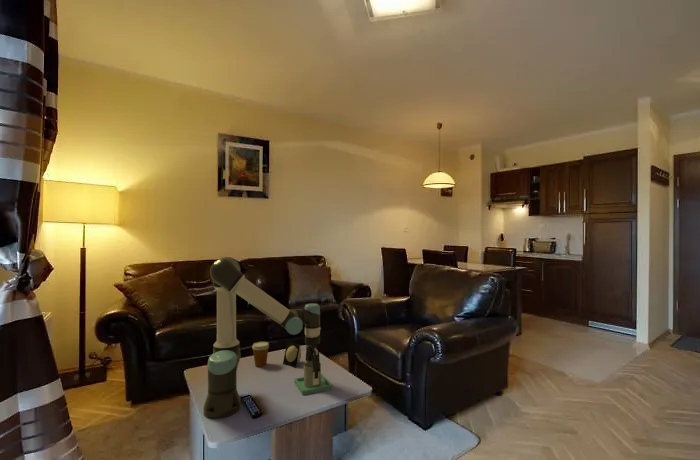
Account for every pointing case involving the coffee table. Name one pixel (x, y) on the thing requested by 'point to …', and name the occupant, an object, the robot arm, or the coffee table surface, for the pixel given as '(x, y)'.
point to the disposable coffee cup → (260, 353)
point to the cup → (310, 375)
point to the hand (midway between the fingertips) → (312, 380)
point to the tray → (304, 390)
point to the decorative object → (292, 354)
